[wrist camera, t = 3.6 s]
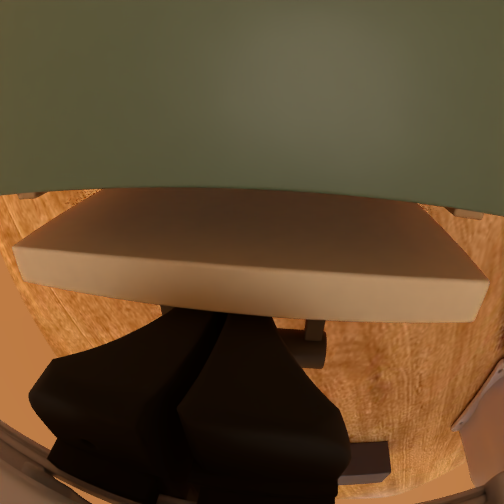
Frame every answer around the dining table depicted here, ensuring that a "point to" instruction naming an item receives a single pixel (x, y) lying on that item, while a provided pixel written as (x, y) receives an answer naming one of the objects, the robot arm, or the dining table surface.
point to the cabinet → (256, 97)
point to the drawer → (260, 257)
